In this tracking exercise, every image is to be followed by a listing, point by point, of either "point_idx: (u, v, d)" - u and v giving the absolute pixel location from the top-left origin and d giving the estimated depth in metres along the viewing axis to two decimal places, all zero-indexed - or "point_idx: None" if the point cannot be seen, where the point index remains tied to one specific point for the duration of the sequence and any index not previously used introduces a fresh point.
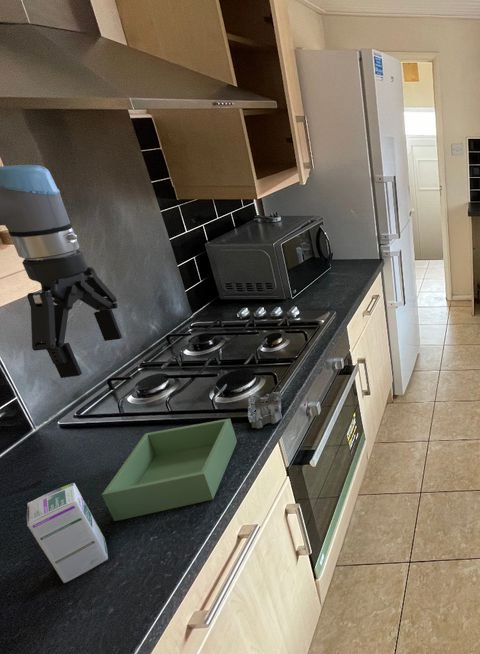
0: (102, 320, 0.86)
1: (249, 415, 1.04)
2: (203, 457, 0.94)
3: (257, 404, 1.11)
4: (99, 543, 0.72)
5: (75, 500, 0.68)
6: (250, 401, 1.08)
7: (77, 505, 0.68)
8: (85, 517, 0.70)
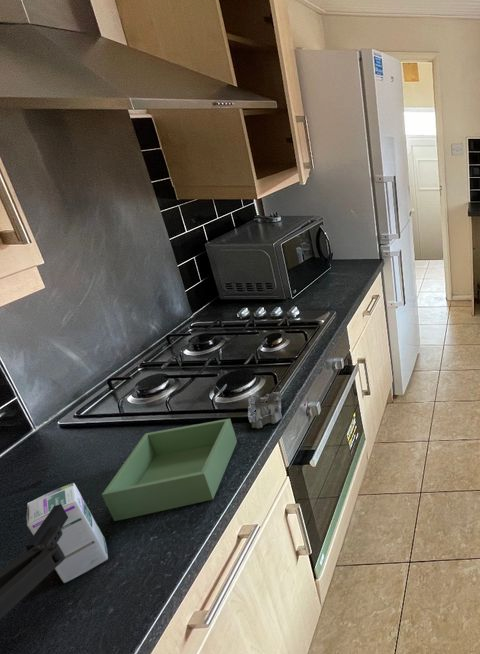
0: None
1: (249, 415, 1.04)
2: (203, 457, 0.94)
3: (257, 404, 1.11)
4: (99, 543, 0.72)
5: (75, 500, 0.68)
6: (250, 401, 1.08)
7: (77, 505, 0.68)
8: (85, 517, 0.70)
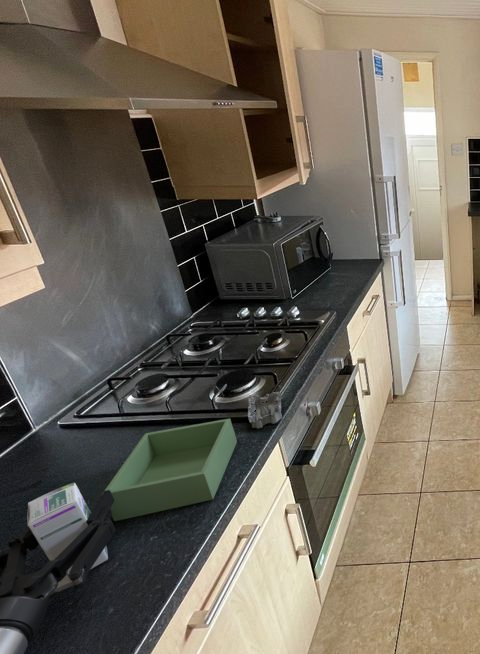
0: None
1: (249, 415, 1.04)
2: (203, 457, 0.94)
3: (257, 404, 1.11)
4: None
5: (76, 500, 0.68)
6: (250, 401, 1.08)
7: (78, 505, 0.68)
8: (85, 517, 0.70)
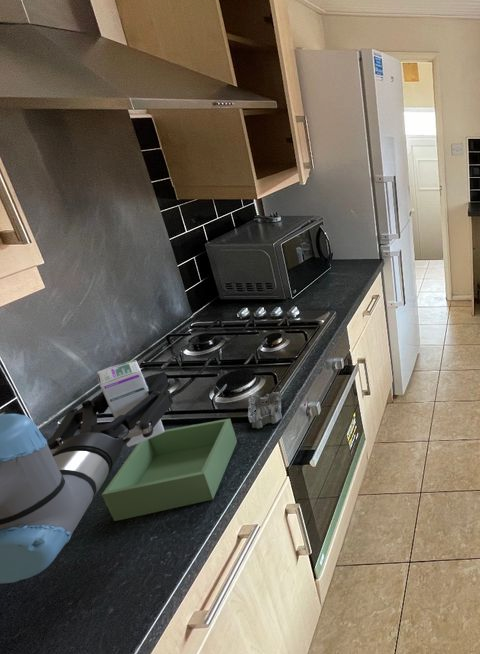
0: None
1: (249, 415, 1.04)
2: (203, 457, 0.94)
3: (257, 404, 1.11)
4: None
5: (139, 370, 0.76)
6: (250, 401, 1.08)
7: (141, 375, 0.76)
8: (147, 388, 0.77)
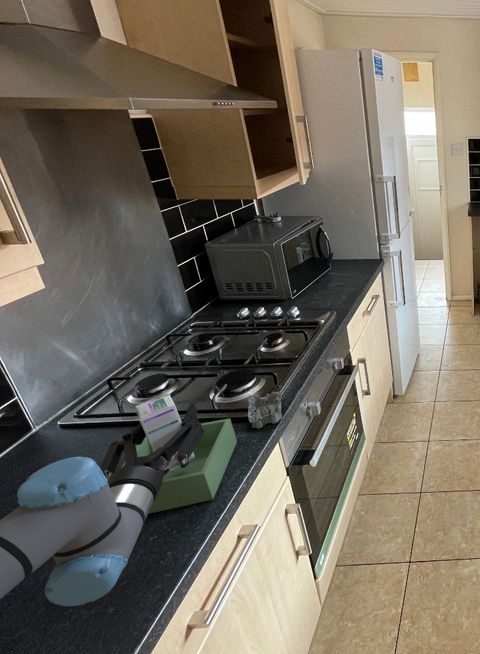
0: None
1: (249, 415, 1.04)
2: (203, 457, 0.94)
3: (257, 404, 1.11)
4: None
5: None
6: (250, 401, 1.08)
7: (175, 408, 0.83)
8: (180, 420, 0.85)
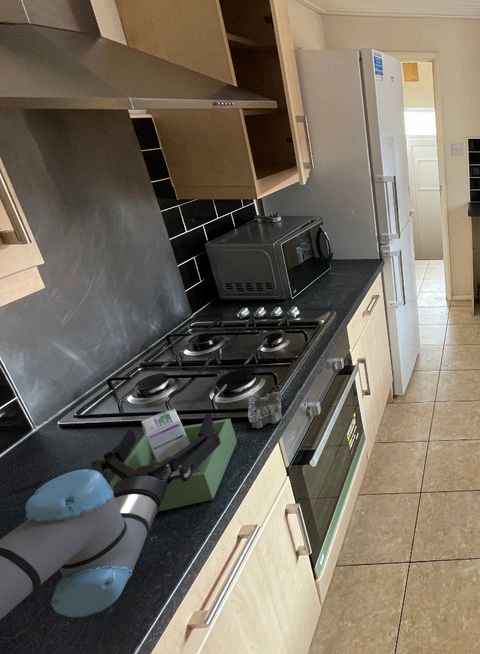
0: None
1: (249, 415, 1.04)
2: None
3: (257, 404, 1.11)
4: None
5: (179, 420, 0.85)
6: (250, 401, 1.08)
7: (180, 424, 0.85)
8: (185, 435, 0.86)
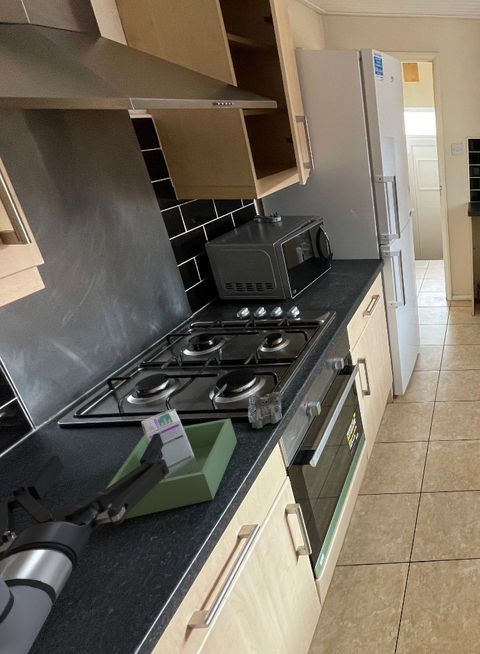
0: None
1: (249, 415, 1.04)
2: (203, 457, 0.94)
3: (257, 404, 1.11)
4: (194, 458, 0.88)
5: (179, 420, 0.84)
6: (250, 401, 1.08)
7: (180, 424, 0.85)
8: (185, 435, 0.86)
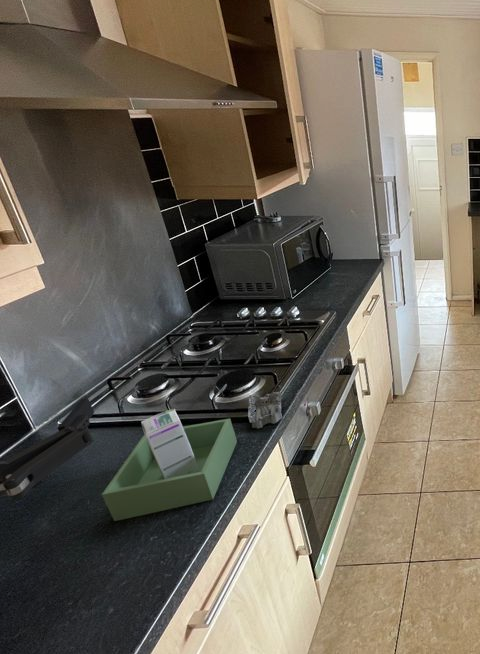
0: None
1: (249, 415, 1.04)
2: (203, 457, 0.94)
3: (257, 404, 1.11)
4: (194, 458, 0.88)
5: (179, 420, 0.84)
6: (250, 401, 1.08)
7: (180, 424, 0.85)
8: (185, 435, 0.86)
